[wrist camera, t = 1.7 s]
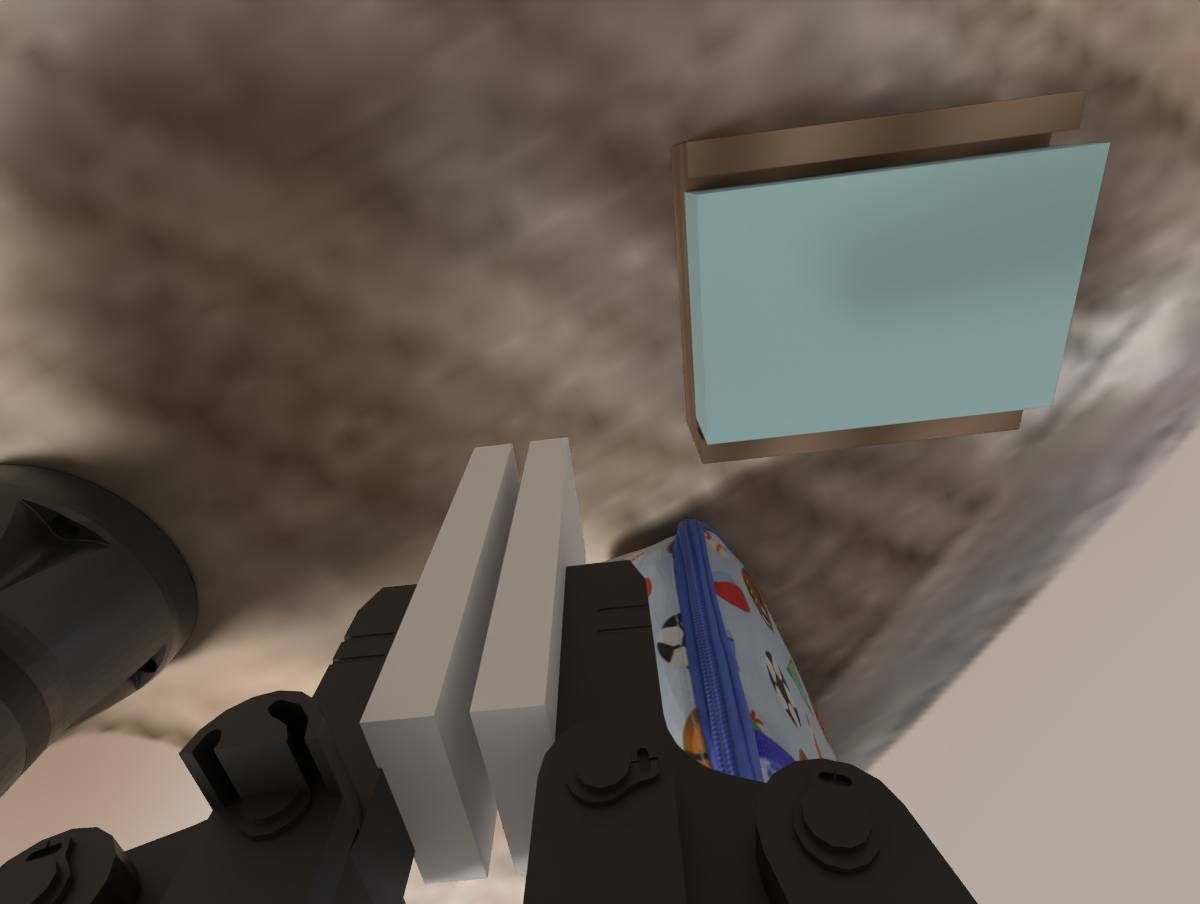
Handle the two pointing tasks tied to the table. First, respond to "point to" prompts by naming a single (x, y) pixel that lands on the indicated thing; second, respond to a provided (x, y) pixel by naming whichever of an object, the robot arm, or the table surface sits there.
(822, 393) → the teal rectangular block
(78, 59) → the table surface
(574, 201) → the table surface
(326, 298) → the table surface
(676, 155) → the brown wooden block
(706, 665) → the lunch box
